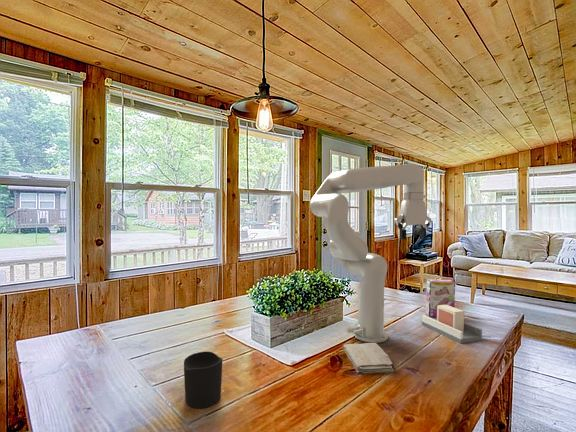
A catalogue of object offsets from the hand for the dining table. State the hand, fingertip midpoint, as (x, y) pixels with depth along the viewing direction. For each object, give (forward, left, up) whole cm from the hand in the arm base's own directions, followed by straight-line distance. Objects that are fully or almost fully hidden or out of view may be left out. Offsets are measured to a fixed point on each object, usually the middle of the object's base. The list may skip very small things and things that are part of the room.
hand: (412, 239), depth 134 cm
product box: (+11, -9, -35) cm, 38 cm away
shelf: (+11, -9, -36) cm, 39 cm away
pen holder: (-85, -27, -37) cm, 96 cm away
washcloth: (-34, -20, -37) cm, 54 cm away
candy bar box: (+22, +8, -36) cm, 43 cm away
